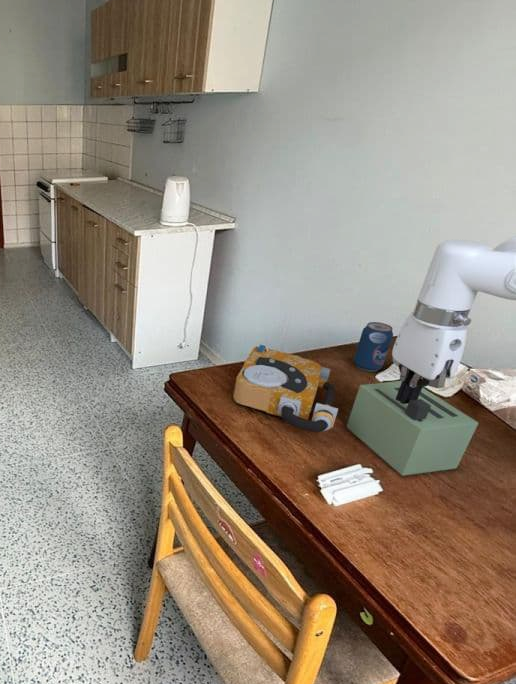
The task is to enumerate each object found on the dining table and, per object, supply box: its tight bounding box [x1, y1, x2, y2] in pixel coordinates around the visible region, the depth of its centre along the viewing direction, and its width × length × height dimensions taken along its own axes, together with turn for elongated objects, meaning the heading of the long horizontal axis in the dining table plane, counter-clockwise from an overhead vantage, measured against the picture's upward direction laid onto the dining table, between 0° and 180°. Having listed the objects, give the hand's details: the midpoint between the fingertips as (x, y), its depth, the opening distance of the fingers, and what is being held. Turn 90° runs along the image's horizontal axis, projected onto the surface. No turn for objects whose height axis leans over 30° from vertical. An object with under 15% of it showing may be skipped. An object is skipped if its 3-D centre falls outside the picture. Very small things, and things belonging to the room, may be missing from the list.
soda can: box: [353, 321, 394, 372], centre depth 126 cm, size 7×7×12 cm
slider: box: [405, 399, 431, 420], centre depth 88 cm, size 2×2×3 cm
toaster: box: [346, 380, 479, 476], centre depth 96 cm, size 12×16×11 cm
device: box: [233, 344, 339, 433], centre depth 112 cm, size 23×8×30 cm
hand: (405, 401), depth 91 cm, fingers closed
